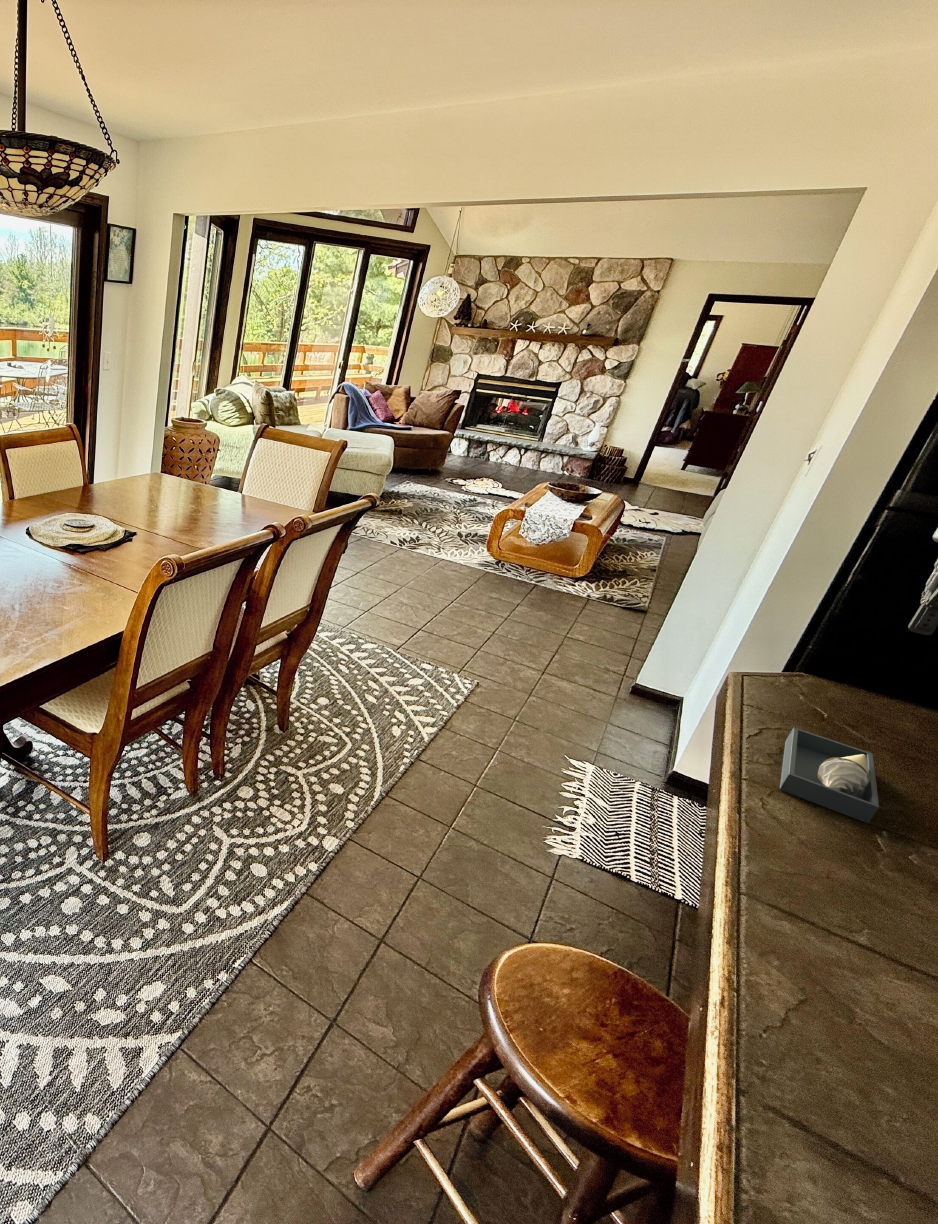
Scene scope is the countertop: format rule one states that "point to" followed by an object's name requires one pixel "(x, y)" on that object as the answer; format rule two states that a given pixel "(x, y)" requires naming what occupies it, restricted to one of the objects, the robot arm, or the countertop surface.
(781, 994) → the countertop surface
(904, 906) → the countertop surface
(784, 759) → the tray
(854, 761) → the ice cream cone
